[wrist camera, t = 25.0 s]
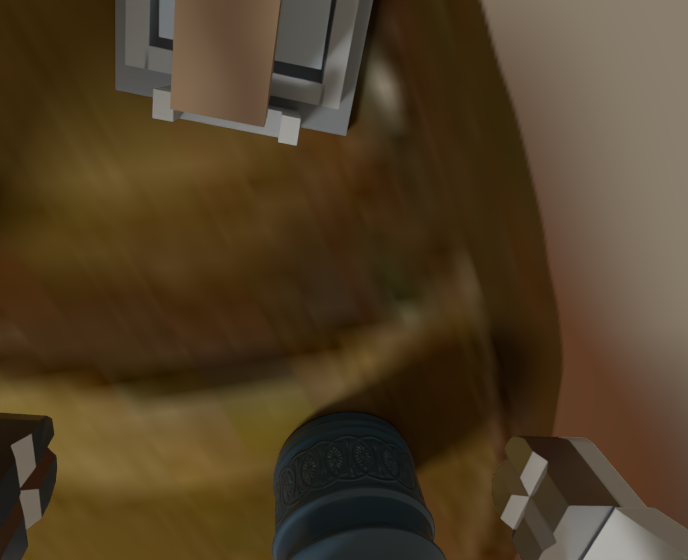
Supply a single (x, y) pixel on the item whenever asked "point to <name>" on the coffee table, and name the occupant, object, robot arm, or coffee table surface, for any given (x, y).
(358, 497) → the canister
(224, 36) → the tan cardboard carton
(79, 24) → the coffee table surface
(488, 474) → the coffee table surface
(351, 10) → the jig
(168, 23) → the pale grey upright block
